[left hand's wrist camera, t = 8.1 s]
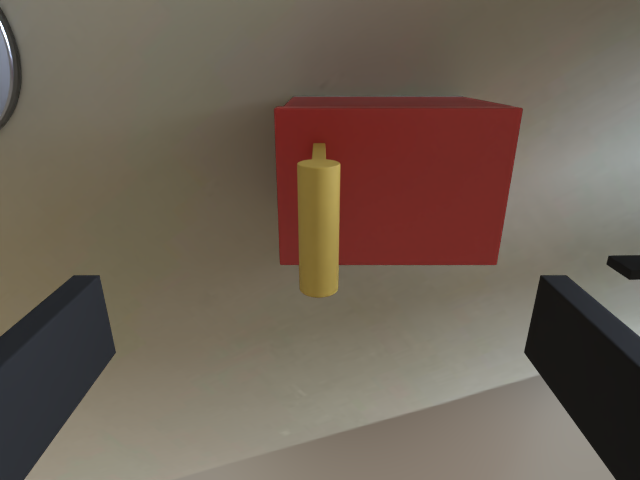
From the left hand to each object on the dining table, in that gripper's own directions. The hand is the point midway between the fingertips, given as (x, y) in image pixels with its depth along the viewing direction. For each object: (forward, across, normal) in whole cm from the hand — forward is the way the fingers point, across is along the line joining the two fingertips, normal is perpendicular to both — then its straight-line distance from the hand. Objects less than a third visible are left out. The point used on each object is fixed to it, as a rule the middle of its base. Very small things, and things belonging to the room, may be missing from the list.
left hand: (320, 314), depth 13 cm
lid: (+15, -4, 0) cm, 16 cm away
